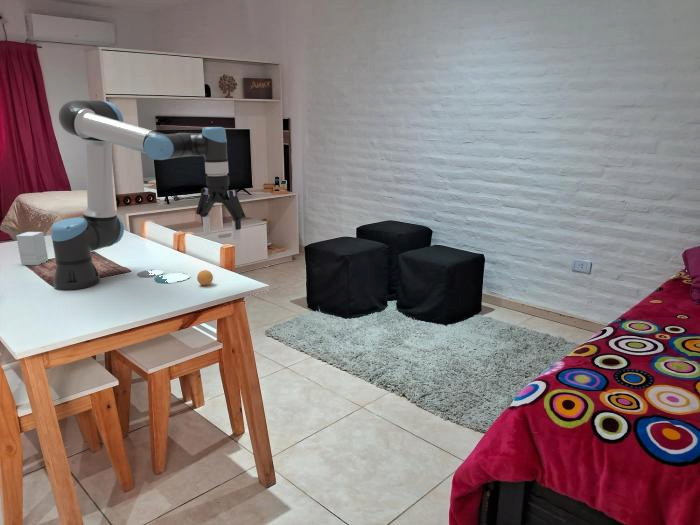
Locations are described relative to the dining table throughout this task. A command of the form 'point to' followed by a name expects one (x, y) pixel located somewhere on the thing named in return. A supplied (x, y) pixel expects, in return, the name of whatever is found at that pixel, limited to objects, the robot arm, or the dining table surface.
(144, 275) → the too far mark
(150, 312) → the dining table surface
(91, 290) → the dining table surface
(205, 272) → the ball
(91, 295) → the dining table surface
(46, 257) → the supplement box
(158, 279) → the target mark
